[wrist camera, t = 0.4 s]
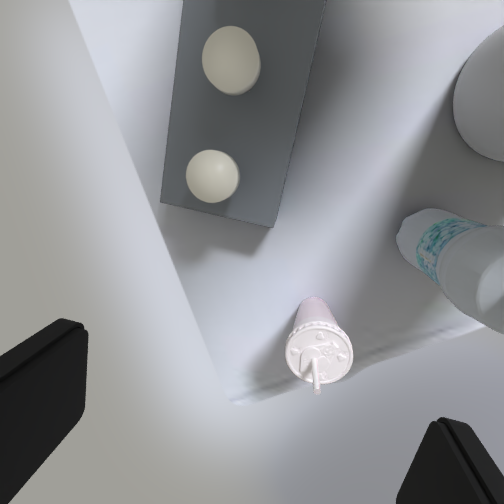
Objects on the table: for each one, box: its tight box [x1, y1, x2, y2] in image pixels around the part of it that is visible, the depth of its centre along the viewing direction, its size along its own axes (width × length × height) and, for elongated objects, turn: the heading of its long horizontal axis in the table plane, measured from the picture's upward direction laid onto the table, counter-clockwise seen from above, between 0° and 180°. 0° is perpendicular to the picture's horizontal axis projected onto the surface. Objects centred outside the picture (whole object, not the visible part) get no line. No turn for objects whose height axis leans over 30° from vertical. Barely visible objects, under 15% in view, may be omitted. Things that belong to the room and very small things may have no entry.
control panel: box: [160, 0, 326, 228], centre depth 30 cm, size 26×12×5 cm, turn 168°
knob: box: [186, 150, 240, 203], centre depth 29 cm, size 4×4×6 cm
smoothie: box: [285, 297, 353, 394], centre depth 32 cm, size 6×6×14 cm
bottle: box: [396, 208, 504, 334], centre depth 25 cm, size 7×7×20 cm
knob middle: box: [202, 26, 261, 96], centre depth 27 cm, size 4×4×6 cm
